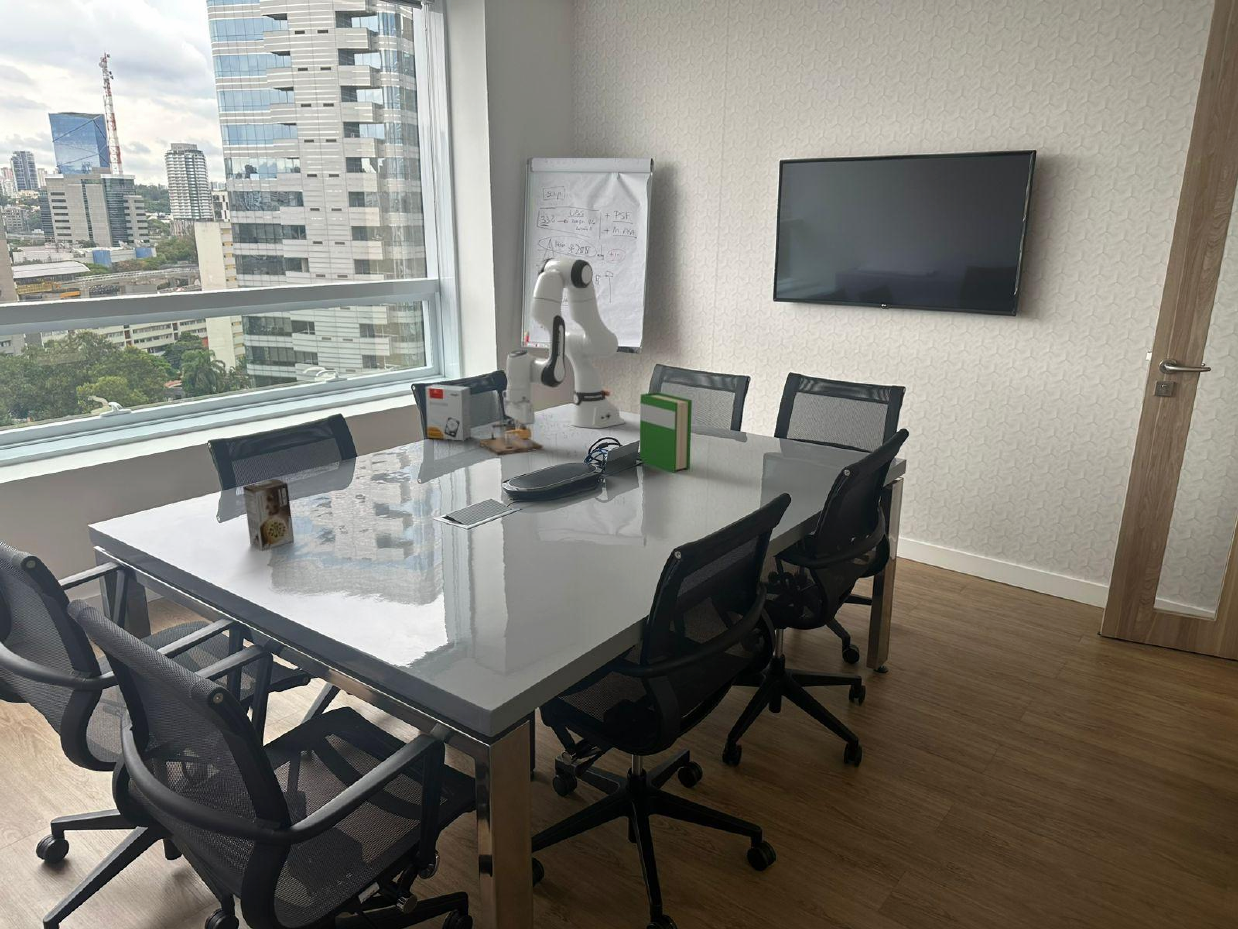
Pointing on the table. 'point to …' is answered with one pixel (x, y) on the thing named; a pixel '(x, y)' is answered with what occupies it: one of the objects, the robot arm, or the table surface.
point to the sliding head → (519, 433)
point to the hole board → (500, 445)
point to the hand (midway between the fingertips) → (519, 431)
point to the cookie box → (268, 514)
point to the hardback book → (665, 431)
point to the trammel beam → (509, 427)
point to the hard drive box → (448, 412)
